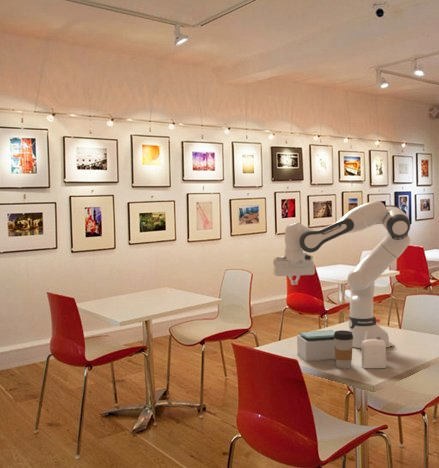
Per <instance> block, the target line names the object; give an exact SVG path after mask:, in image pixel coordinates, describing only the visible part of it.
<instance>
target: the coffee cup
mask: <svg viewBox="0 0 439 468" xmlns="http://www.w3.org/2000/svg"><path fill="white" fill-rule="evenodd" d="M334 344H335V345H334V347H335V365H336V368H339V369H345V370H348V369H350V368H351V367H352V361H353V348H354V347H353V346H352V344H353V335H352V332H350V331H349V330H336V331H335V334H334Z"/></svg>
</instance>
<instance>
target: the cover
mask: <svg viewBox="0 0 439 468" xmlns="http://www.w3.org/2000/svg"><path fill="white" fill-rule="evenodd" d="M335 332H336V331H335V330H332V329H331V330H330V329H329V330H315V331H299V332H298V335H302V336H304V337H306V338H323V337H334V334H335Z"/></svg>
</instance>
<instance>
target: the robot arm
mask: <svg viewBox="0 0 439 468" xmlns="http://www.w3.org/2000/svg"><path fill="white" fill-rule="evenodd" d="M374 225H382V226H383V228H384V229H385V230H387V234H386V236H385V237H384V238H382V240H381V241H380V242H378V244H377V245H376V246H375V247H373V249H372V250H371V251H370V252H369V253H368V254H367V255H366V256H365V257H364V258H363V259H362V260H360V262H359V263H358V264H356V266H355V267H354V268H353V269H352V270H351V271H350V272H348V275H347V284H348V286H349V287H350V288H351V291H350V298H349V317H348V327H349V330H348V331H350V332H352V335H353V344H352V346H353V348H356V349H361V345H362V341H364V340H368V339H380V340H383V341H384V342H385V345H386V348H391V347H390V346H392V347H394V346H395V343H394V342H393V341H391V340H390V337H389V334H388V332H387V331H386V330H385V328H382V327H381V326H380V325H379V324H377V323H380V322H381V318H379V317H375V316H374V294H375V281H376V280H378V279H379V277H380V276H381V275H382V274H383V273H385V272H386V270H387V269H388V268H389V267H390V266H391V265H392V264H393V263H394V262H396V260H397V259H398V258H400V256H401V255H402V254H403V253H404V252H405V250H406V249H407V248H408V247H409V245H410V243H411V239H410V236H409V231H410V230H411V221H410V219H409V218H408V216H407V214H406V212H404V211H403V210H402V209H401V207H398V206H397V205H393V204H391V205H387V204H384V202H382V201H380V200H372V201H369V202H366V203H363V204H361V205H359V206H355V207H354V208H352V209H351V210H349V211H348V212H346V213H345V214H344V215H342V217H341V218H340V219H338V220H337V221H336V222H334V223H332V224H330V225H327V226H325V227H323V228H321V229H318V230H316V229H313V228H309V227H307V226H305V225H303V224H302V223H300V222H297V223H296V222H295V223H291V224H288V225H286V227H285V229H284V244H285V247H284V256H280V257H279V256H276V258H275V257H274V259H273V275H274V276H275V277H288V278H289V280H290V285H292V286H295V285H298V283H299V280H300V278H301V276H314V274H315V273H316V267H315V263H314V260H313V259H314V258H313V257H314V256H313V255H311V254H309V253H315V252H317V251H318V250H319V249H320V248H321V247H322V246H323V245H324V244H325V243H328V242H329V241H331V240H333V239H336V238H339V237H340V236H342V235H346V234H353V233H357V232H361V231H363V230H367V229H369V228H370V227H372V226H374ZM305 252H306V253H305ZM293 276H295V277H296V278H295V280H293Z"/></svg>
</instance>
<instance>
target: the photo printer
mask: <svg viewBox="0 0 439 468" xmlns="http://www.w3.org/2000/svg"><path fill="white" fill-rule="evenodd" d="M386 349H387V347H386V345H385V342H384V341H383V340H380V339H368V340H364V341H362V345H361V348H360V351H361V368H362V369H386V368H387V350H386Z"/></svg>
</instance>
